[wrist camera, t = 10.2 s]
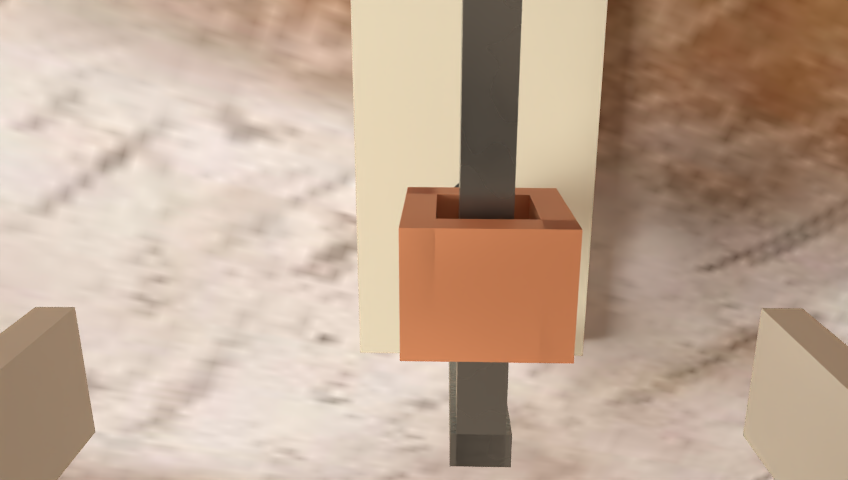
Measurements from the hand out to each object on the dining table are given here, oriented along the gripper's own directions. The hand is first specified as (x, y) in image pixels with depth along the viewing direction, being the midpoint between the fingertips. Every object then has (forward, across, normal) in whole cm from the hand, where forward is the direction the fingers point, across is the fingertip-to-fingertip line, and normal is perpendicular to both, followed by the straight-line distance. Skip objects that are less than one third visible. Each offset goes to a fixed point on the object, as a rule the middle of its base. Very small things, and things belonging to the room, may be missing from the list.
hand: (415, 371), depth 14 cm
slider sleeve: (+17, +2, -1) cm, 17 cm away
